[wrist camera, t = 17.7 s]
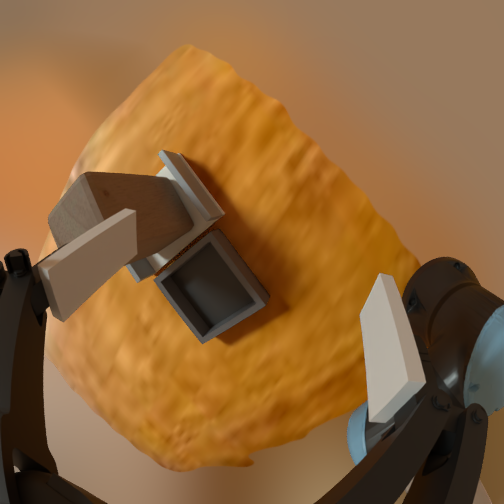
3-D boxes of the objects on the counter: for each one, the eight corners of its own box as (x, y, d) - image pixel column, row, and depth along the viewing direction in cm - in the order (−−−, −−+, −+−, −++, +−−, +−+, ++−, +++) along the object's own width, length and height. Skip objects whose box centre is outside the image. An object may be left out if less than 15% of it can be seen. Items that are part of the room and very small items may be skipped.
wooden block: (170, 175, 43) (82, 167, 24) (198, 226, 44) (118, 248, 25) (130, 207, 46) (43, 218, 27) (155, 255, 47) (73, 288, 27)
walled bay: (225, 213, 43) (212, 216, 38) (153, 274, 48) (136, 283, 43) (180, 153, 43) (163, 148, 37) (117, 219, 48) (98, 222, 43)
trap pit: (270, 296, 44) (265, 305, 40) (210, 333, 48) (202, 344, 44) (219, 228, 44) (210, 231, 40) (165, 273, 48) (153, 280, 44)
